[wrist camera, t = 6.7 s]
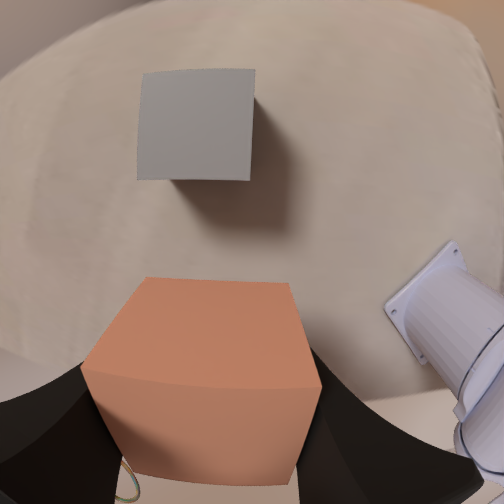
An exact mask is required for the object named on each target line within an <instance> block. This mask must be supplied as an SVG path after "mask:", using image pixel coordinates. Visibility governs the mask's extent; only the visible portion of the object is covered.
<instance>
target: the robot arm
mask: <svg viewBox="0 0 504 504" xmlns="http://www.w3.org/2000/svg"><path fill="white" fill-rule="evenodd" d="M454 250H455V252H454ZM393 310H394V312H392V311H393ZM384 311H385V312H386V314H387V315H388V316H389V318H390V319H391V321H392V322H393V324H394V325H395V326H396V328H397V329H398V331H399V332H400V334H401V335H402V337H403V338H404V340H405V341H406V343H407V344H408V346H409V347H410V349H411V350H412V352H413V353H414V355H415V356H416V358H417V359H418V361H419V363H420V364H421V365H424V364H426V363H427V362H428V361H429V362H430V364H431V365H432V366H433V368H434V369H435V370H436V372H437V373H438V374H439V375H440V377H441V378H442V379H443V381H444V382H445V383H446V385H447V386H448V388H449V389H450V390H451V392H452V393H453V394H454V396H455V397H456V398H457V400H458V403H457V405H456V407H455V408H454V409H453V412H454V414H455V415H456V416H457V418H458V420H459V422H458V423H457V425H456V427H455V430H454V445H455V449H456V453H457V454H454V453H451V452H448V451H445V450H442V449H439V448H437V447H434V446H432V445H430V444H427V443H425V442H423V441H421V440H419V439H417V438H415V437H413V436H411V435H409V434H407V433H406V432H404V431H402V430H401V429H399V428H397V427H396V426H394V425H392V424H391V423H389V422H388V421H386V420H385V419H383V418H382V417H381V416H379V415H378V414H377V413H375V412H374V411H373V410H371V409H370V408H369V407H367V406H366V405H365V404H364V403H363V402H361V401H360V400H359V399H358V398H357V397H356V396H355V395H354V394H353V393H352V392H350V391H349V390H348V389H347V388H346V387H345V386H344V385H343V384H342V382H341V381H340V380H339V379H338V378H337V377H336V376H335V375H334V374H333V373H332V372H331V371H330V370H329V369H328V367H327V366H326V365H325V364H324V363H323V362H322V360H321V359H320V358H319V357H318V356H317V354H316V353H315V352H314V351H313V350H312V348H311V347H310V346H309V347H310V350H311V353H312V356H313V359H314V363H315V366H316V369H317V372H318V375H319V378H320V381H321V385H322V389H321V392H320V396H319V399H318V402H317V406H316V409H315V412H314V415H313V418H312V421H311V424H310V427H309V430H308V433H307V436H306V439H305V441H304V444H303V447H302V450H301V452H300V455H299V458H298V460H297V463H296V468H297V476H298V487H299V500H300V504H461V503H462V502H464V501H465V500H466V499H468V498H469V497H470V496H472V495H473V494H474V493H475V492H476V491H478V490H479V489H480V488H481V487H482V486H483V483H484V480H488V481H492V482H495V483H497V484H499V485H501V486H502V487H503V488H504V296H502V295H501V294H499V293H498V292H497V291H495V290H494V289H492V288H491V287H489V286H488V285H486V284H485V283H483V282H482V281H480V280H479V279H477V278H475V277H474V276H472V275H471V274H469V273H468V270H467V267H466V265H465V262H464V259H463V257H462V254H461V252H460V249H459V247H458V244H457V243H456V242H455V241H453V240H452V241H450V242H449V243H448V244H447V245H446V246H445V247H444V248H443V249H442V250H441V251H440V252H439V253H438V254H437V255H436V256H435V257H434V258H433V259H432V260H431V261H430V262H429V263H428V264H427V265H426V266H425V267H424V268H423V269H422V270H421V271H420V272H419V273H418V274H417V275H416V276H415V277H414V278H413V279H412V280H411V281H410V282H409V283H408V284H407V285H406V286H405V287H403V288H402V289H401V290H400V291H399V292H398V293H397V294H396V295H395V296H394V297H392V298H391V299H390V300H389V301H388V302H387V303H386V304H385V306H384ZM391 312H392V313H391ZM83 362H84V361H83ZM83 362H82V363H80V364H79V365H77V366H76V367H74V368H73V369H71V370H69V371H68V372H66V373H65V374H63V375H62V376H60V377H59V378H57V379H55V380H53V381H51V382H50V383H48V384H46V385H44V386H42V387H40V388H38V389H36V390H33V391H31V392H29V393H26V394H23V395H21V396H19V397H16V398H13V399H11V400H8V401H4V402H1V403H0V504H114V502H115V494H116V487H117V481H118V475H119V470H120V466H121V461H122V456H123V455H122V453H121V451H120V450H119V448H118V446H117V444H116V443H115V441H114V439H113V437H112V435H111V434H110V432H109V430H108V428H107V426H106V424H105V422H104V420H103V418H102V416H101V414H100V412H99V410H98V408H97V406H96V404H95V401H94V399H93V397H92V395H91V392H90V390H89V388H88V385H87V383H86V381H85V378H84V376H83V373H82V371H81V368H80V367H81V365H82V364H83ZM488 504H504V492H502V494H500V495H499V496H497V497H496V498H495V499H493V500H492V501H491V502H489V503H488Z"/></svg>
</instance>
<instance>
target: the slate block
mask: <svg viewBox="0 0 504 504" xmlns="http://www.w3.org/2000/svg"><path fill="white" fill-rule="evenodd" d="M254 88H255V69H190V70H175V71H164V72H154V73H146V74H143V78H142V87H141V97H140V109H139V124H138V146H137V180H167V179H207V180H245V181H250V170H251V149H252V128H253V108H254Z"/></svg>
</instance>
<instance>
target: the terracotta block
mask: <svg viewBox="0 0 504 504" xmlns="http://www.w3.org/2000/svg"><path fill="white" fill-rule="evenodd" d="M80 368H81V371H82V373H83V376H84V378H85V381H86V383H87V385H88V388H89V390H90V392H91V395H92V397H93V399H94V401H95V404H96V406H97V408H98V410H99V412H100V414H101V416H102V418H103V420H104V422H105V424H106V426H107V428H108V430H109V432H110V434H111V435H112V437H113V439H114V441H115V443H116V444H117V446H118V448H119V450H120V451H121V453H122V455H123V456H124V458H125V459H126V461H127V463H128V464H129V466H130V467H131V469H132V471H133V472H135V473H139V474H144V475H148V476H153V477H159V478H164V479H170V480H177V481H185V482H192V483H201V484H213V485H230V486H271V485H288V483H289V480H290V478H291V475H292V473H293V470H294V468H295V465H296V463H297V460H298V458H299V455H300V452H301V450H302V447H303V444H304V441H305V439H306V436H307V433H308V430H309V427H310V424H311V421H312V418H313V415H314V412H315V409H316V406H317V402H318V399H319V396H320V392H321V389H322V385H321V381H320V378H319V375H318V372H317V369H316V366H315V363H314V359H313V356H312V353H311V350H310V347H309V344H308V341H307V338H306V335H305V332H304V329H303V326H302V323H301V320H300V317H299V314H298V311H297V308H296V305H295V302H294V299H293V296H292V293H291V290H290V287H289V284H288V283H268V282H237V281H212V280H191V279H172V278H155V277H146V278H145V279H144V281H143V282H142V283H141V284H140V286H139V287H138V288H137V289H136V291H135V292H134V293H133V295H132V296H131V297H130V299H129V300H128V301H127V303H126V304H125V305H124V306H123V308H122V309H121V310H120V312H119V313H118V314H117V316H116V317H115V319H114V320H113V321H112V323H111V324H110V325H109V327H108V328H107V329H106V331H105V332H104V334H103V335H102V336H101V338H100V339H99V341H98V342H97V343H96V345H95V346H94V348H93V349H92V351H91V352H90V354H89V355H88V356H87V358H86V359H85V361H84V362H83V364H82V365H81V367H80Z"/></svg>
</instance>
